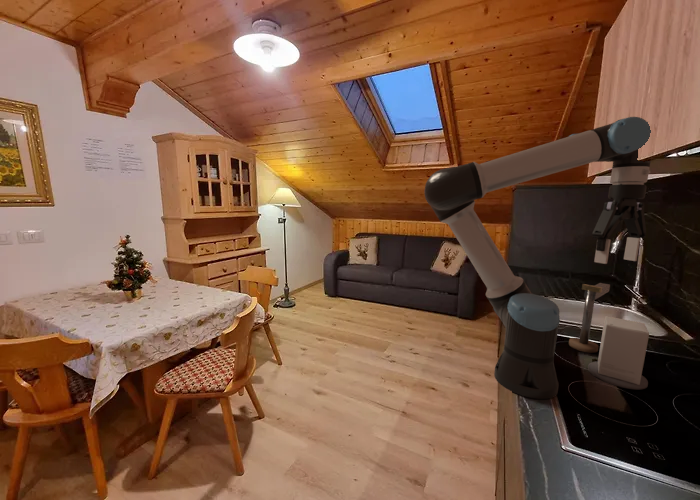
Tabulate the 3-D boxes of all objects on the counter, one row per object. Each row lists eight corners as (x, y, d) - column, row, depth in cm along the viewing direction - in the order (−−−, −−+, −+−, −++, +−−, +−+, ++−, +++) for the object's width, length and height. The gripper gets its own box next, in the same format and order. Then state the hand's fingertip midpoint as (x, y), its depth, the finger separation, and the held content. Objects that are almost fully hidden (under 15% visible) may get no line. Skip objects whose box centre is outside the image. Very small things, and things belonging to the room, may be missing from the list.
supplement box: (640, 386, 82) (650, 333, 79) (597, 374, 87) (605, 324, 85) (636, 371, 89) (645, 322, 86) (597, 361, 94) (604, 315, 92)
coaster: (630, 393, 80) (630, 391, 79) (577, 368, 91) (578, 366, 91) (658, 383, 84) (658, 381, 84) (604, 360, 96) (605, 358, 96)
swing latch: (591, 346, 102) (600, 288, 99) (573, 340, 106) (581, 284, 103) (606, 333, 113) (614, 280, 110) (589, 328, 117) (597, 277, 114)
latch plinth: (588, 354, 100) (588, 350, 100) (563, 343, 107) (563, 339, 107) (603, 350, 103) (604, 346, 103) (578, 340, 110) (578, 336, 110)
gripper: (616, 181, 75) (603, 266, 78) (671, 185, 84) (657, 261, 87) (583, 183, 81) (572, 261, 85) (637, 186, 91) (626, 256, 94)
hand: (615, 261), depth 86 cm, fingers open, 13 cm apart
